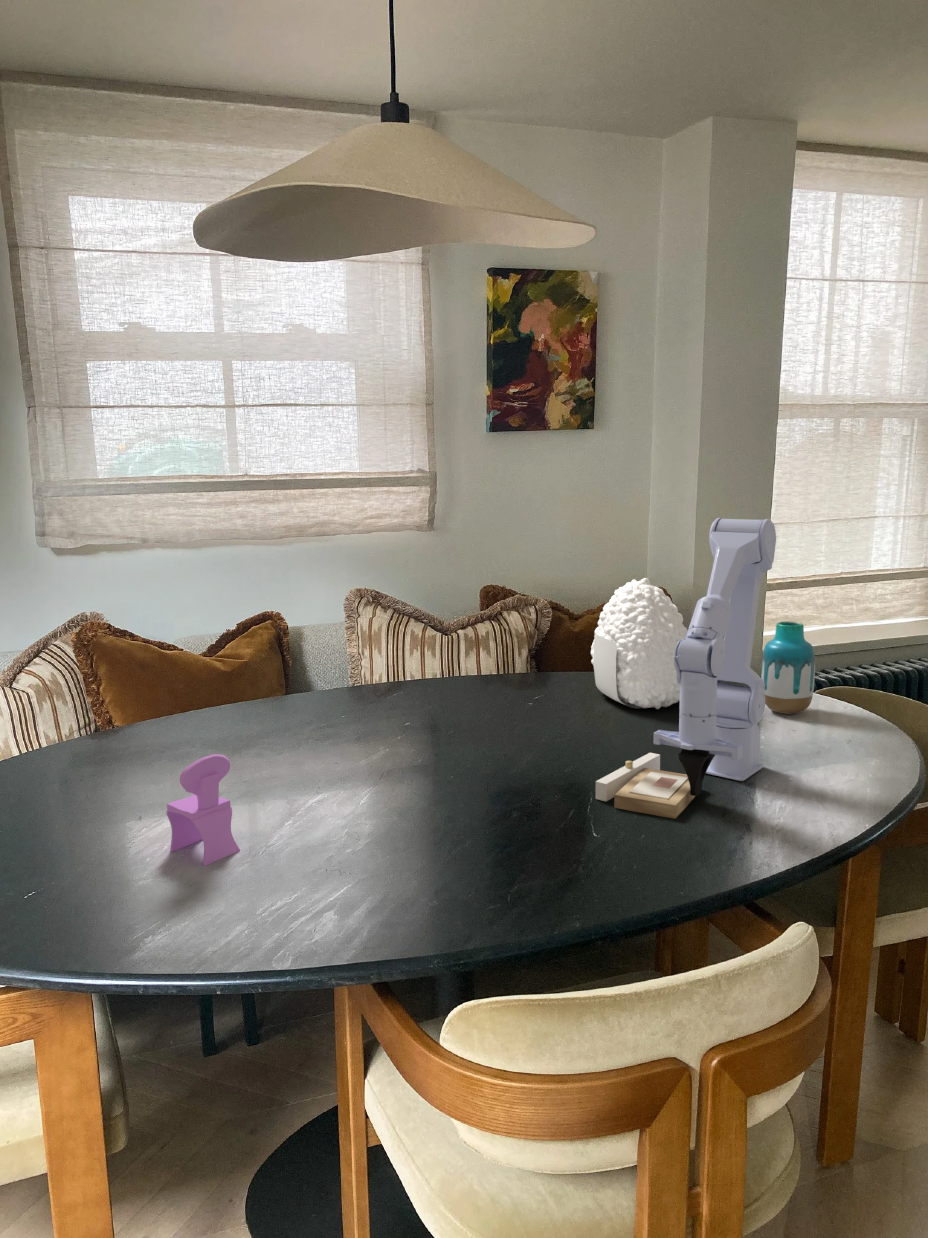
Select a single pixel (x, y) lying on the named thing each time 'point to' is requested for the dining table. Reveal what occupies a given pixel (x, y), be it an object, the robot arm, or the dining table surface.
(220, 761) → the toy chair
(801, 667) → the vase
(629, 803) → the frame
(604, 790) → the rail
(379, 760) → the dining table surface
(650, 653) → the rice ball
